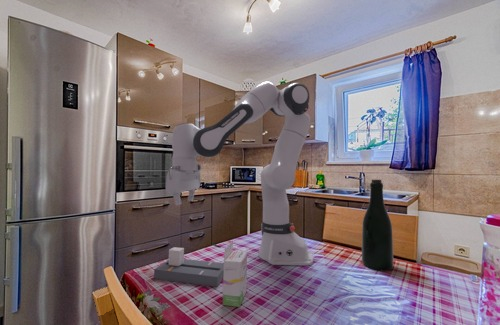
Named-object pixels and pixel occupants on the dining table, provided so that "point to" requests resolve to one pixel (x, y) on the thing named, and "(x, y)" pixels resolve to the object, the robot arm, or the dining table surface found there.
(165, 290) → the dining table surface
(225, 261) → the ink box
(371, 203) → the beer bottle
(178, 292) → the dining table surface
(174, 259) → the fader cap
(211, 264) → the slider console
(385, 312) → the dining table surface
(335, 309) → the dining table surface
